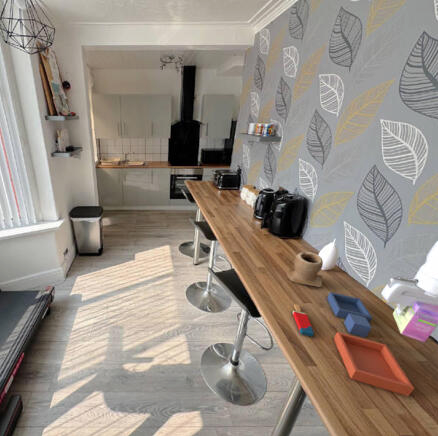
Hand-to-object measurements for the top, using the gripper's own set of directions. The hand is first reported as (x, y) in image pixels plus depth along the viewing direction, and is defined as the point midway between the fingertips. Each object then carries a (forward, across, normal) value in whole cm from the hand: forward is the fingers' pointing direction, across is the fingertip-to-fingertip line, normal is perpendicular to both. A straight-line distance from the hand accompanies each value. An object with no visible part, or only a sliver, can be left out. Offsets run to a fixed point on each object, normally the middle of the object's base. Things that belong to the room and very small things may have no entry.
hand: (414, 317), depth 77 cm
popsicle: (+12, -30, 0) cm, 32 cm away
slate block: (+13, -12, +2) cm, 17 cm away
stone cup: (+13, -23, +27) cm, 37 cm away
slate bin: (+13, -11, +12) cm, 21 cm away
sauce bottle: (+13, -11, +43) cm, 46 cm away
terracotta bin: (+13, -14, -13) cm, 23 cm away
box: (+5, 0, 0) cm, 5 cm away
